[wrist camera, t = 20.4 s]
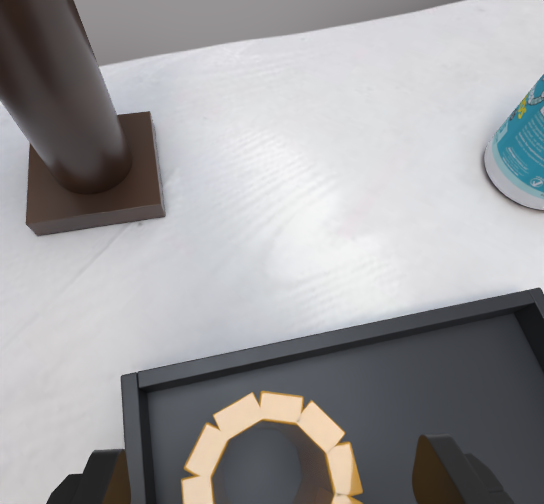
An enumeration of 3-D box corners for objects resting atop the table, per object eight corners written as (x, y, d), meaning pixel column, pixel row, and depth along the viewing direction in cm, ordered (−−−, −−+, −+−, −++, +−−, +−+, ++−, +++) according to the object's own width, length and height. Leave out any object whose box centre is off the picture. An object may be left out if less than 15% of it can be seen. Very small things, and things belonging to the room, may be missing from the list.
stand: (37, 236, 25) (-754, -566, 5) (40, 139, 28) (-432, -574, 8) (165, 216, 26) (-72, -486, 6) (154, 126, 29) (-25, -521, 10)
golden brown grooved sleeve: (211, 560, 18) (192, 630, 11) (196, 419, 20) (174, 407, 14) (333, 528, 19) (385, 576, 12) (305, 397, 21) (334, 375, 14)
